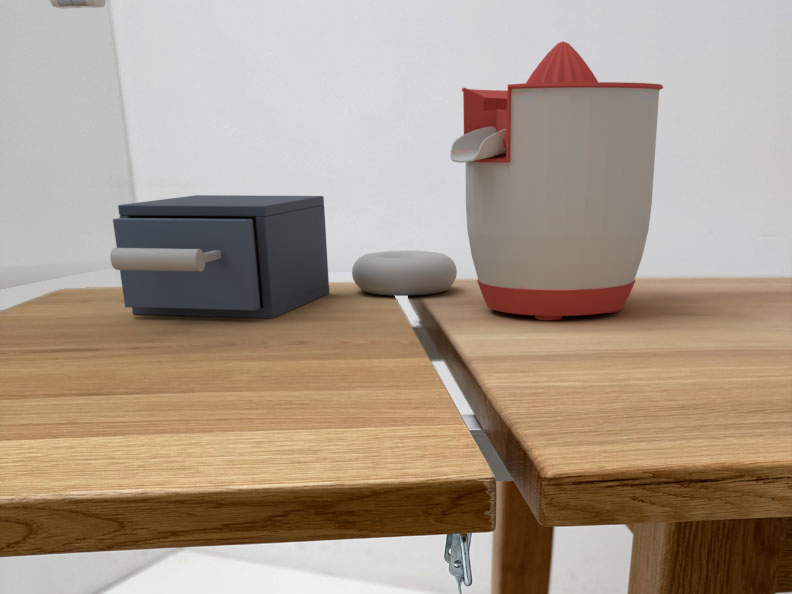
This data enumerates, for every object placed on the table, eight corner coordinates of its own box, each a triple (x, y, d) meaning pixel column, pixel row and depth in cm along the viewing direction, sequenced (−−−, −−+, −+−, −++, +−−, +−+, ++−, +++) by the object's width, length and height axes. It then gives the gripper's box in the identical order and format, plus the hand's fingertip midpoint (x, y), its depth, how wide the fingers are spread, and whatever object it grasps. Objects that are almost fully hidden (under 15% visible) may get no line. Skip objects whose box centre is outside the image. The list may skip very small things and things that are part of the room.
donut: (371, 284, 104) (337, 296, 95) (370, 248, 102) (336, 257, 93) (467, 287, 101) (442, 299, 93) (467, 250, 100) (441, 259, 91)
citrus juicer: (411, 309, 88) (403, 44, 80) (568, 292, 97) (577, 51, 88) (518, 335, 76) (523, 27, 68) (687, 313, 85) (710, 37, 76)
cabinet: (272, 318, 84) (263, 206, 80) (132, 314, 86) (117, 204, 83) (329, 293, 97) (323, 195, 93) (206, 290, 99) (195, 195, 96)
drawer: (229, 321, 77) (220, 225, 75) (92, 317, 80) (78, 223, 77) (311, 288, 94) (306, 208, 91) (196, 285, 96) (187, 207, 93)
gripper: (-157, -273, 58) (-99, 7, 64) (174, -306, 54) (204, -4, 60) (-82, -238, 64) (-35, 17, 70) (223, -265, 60) (246, 7, 66)
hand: (78, 7), depth 65 cm, fingers closed
